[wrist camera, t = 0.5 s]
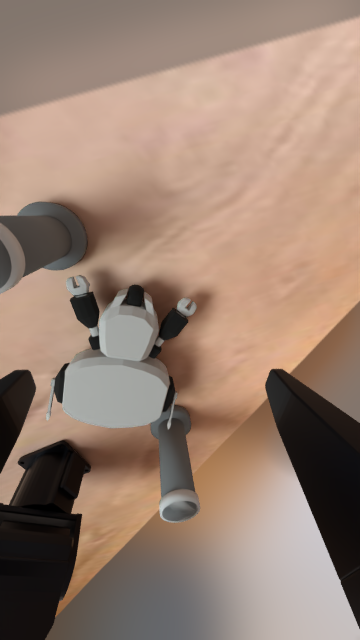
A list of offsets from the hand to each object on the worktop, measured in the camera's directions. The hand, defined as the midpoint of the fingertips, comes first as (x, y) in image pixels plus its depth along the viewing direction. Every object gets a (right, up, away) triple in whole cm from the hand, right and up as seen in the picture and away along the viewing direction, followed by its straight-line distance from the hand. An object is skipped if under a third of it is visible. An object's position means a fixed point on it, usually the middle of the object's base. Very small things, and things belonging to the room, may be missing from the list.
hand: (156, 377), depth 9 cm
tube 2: (0, -11, +20) cm, 23 cm away
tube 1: (-9, +9, +10) cm, 16 cm away
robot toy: (-5, -1, +16) cm, 16 cm away
